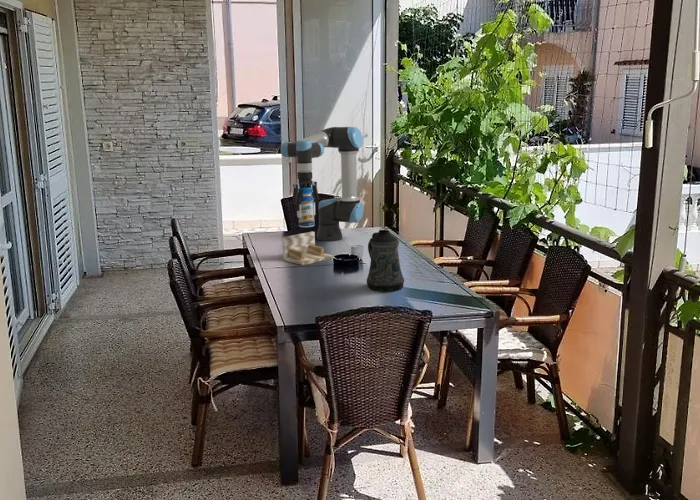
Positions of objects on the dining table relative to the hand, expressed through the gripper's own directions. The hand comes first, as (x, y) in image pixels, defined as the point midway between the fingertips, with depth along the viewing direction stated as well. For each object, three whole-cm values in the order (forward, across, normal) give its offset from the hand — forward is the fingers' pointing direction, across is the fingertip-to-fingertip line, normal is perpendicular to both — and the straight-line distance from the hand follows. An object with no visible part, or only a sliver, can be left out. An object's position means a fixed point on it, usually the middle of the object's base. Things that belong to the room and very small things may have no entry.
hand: (306, 215), depth 349 cm
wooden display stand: (+23, 0, 0) cm, 23 cm away
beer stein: (+23, +10, +64) cm, 69 cm away
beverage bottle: (+6, 0, 0) cm, 6 cm away
